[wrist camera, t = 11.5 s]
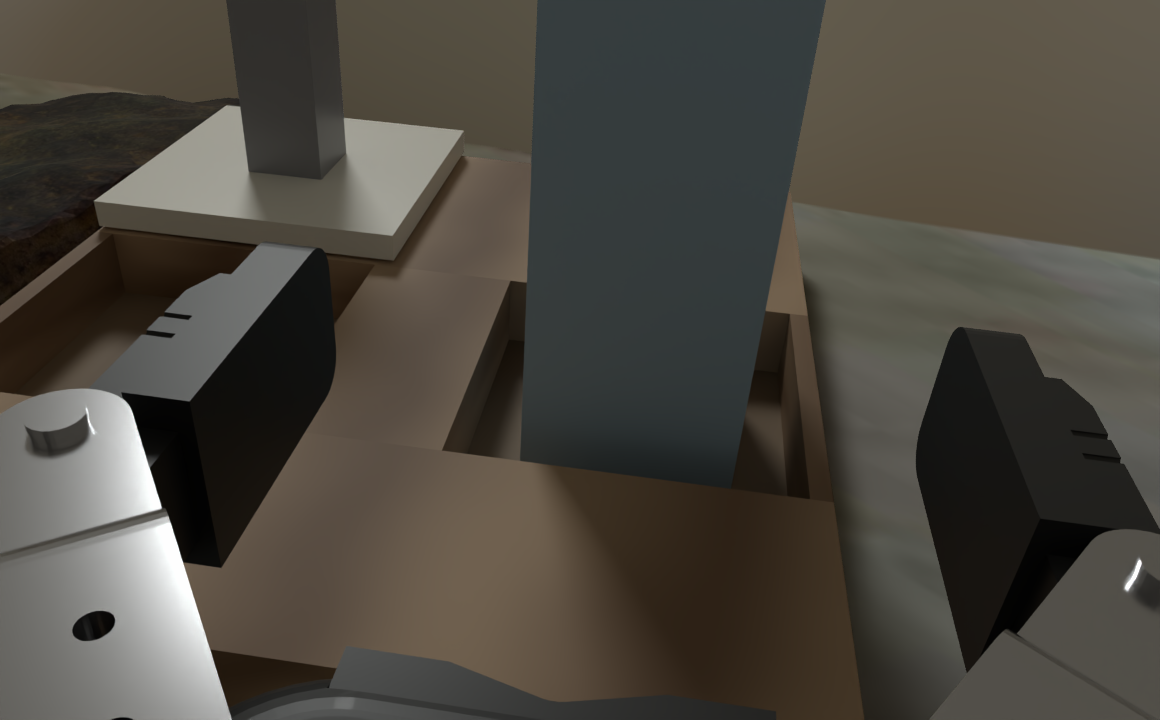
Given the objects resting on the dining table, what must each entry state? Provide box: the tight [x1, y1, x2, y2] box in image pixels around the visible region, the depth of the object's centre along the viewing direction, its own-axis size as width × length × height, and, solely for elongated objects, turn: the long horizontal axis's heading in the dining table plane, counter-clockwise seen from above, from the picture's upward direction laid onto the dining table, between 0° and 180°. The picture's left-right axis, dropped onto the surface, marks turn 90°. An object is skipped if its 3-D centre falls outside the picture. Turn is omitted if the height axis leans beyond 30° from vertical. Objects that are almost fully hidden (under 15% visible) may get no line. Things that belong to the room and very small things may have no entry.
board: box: [0, 156, 864, 720], centre depth 27 cm, size 21×23×2 cm
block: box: [520, 0, 826, 489], centre depth 21 cm, size 5×5×15 cm
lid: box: [94, 0, 464, 261], centre depth 30 cm, size 9×9×10 cm
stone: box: [0, 92, 240, 306], centre depth 35 cm, size 18×11×3 cm, turn 163°
